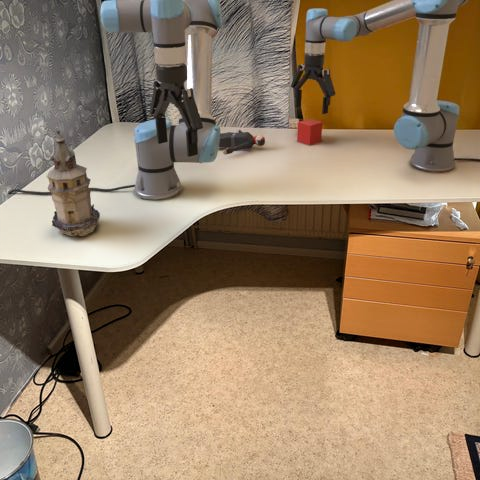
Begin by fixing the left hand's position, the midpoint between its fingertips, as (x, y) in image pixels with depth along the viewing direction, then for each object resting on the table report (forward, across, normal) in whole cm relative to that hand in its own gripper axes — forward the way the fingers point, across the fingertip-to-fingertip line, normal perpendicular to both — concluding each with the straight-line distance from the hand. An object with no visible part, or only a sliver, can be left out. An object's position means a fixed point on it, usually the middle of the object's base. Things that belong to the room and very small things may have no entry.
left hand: (177, 148), depth 139 cm
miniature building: (+26, +24, +21) cm, 40 cm away
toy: (+24, +47, -55) cm, 77 cm away
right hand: (+11, +28, -83) cm, 88 cm away
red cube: (+24, +31, -85) cm, 93 cm away
